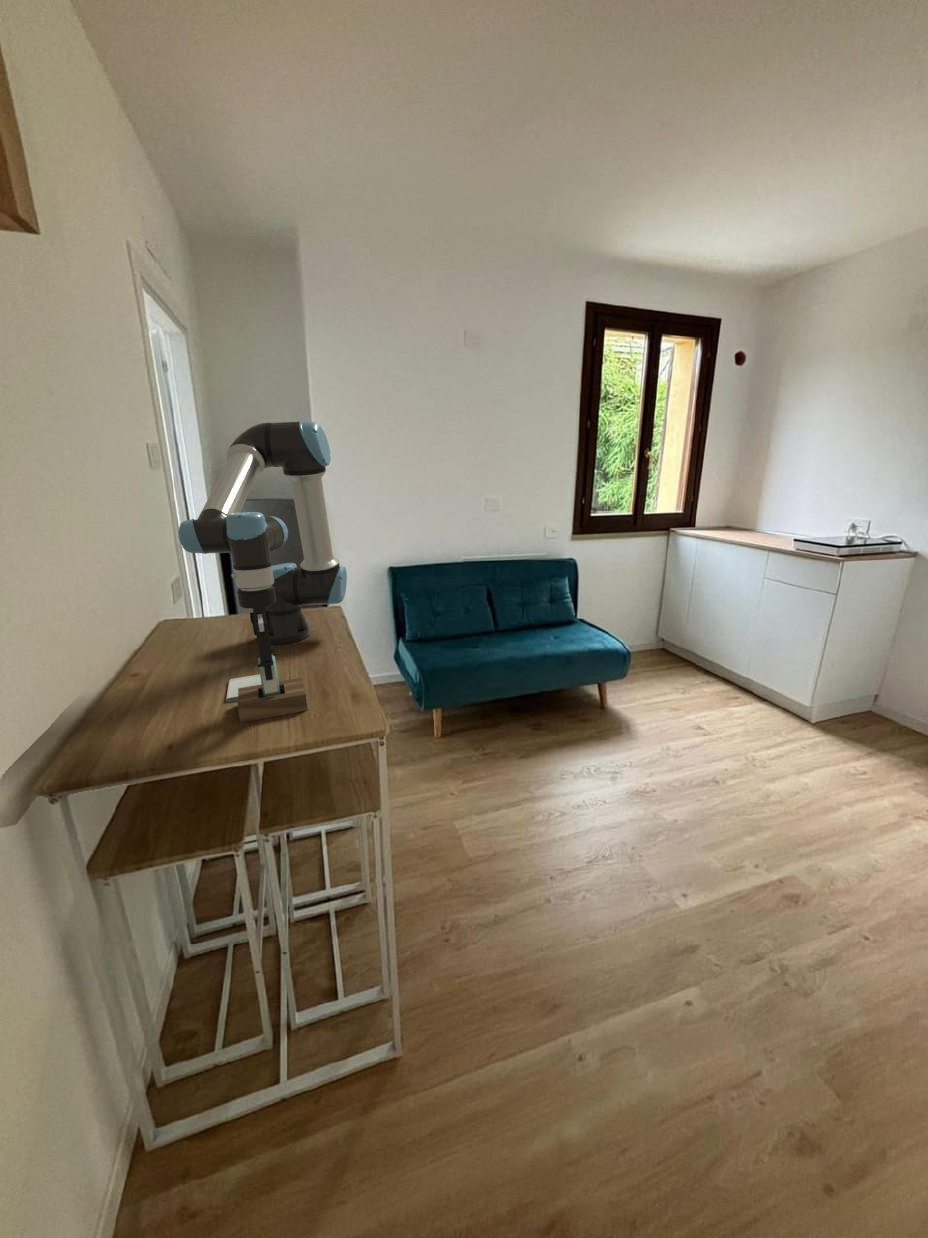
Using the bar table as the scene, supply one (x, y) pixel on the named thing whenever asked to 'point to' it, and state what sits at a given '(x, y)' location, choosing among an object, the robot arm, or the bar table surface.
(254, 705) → the socket block
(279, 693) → the peg
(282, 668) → the bar table surface
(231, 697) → the hard drive
